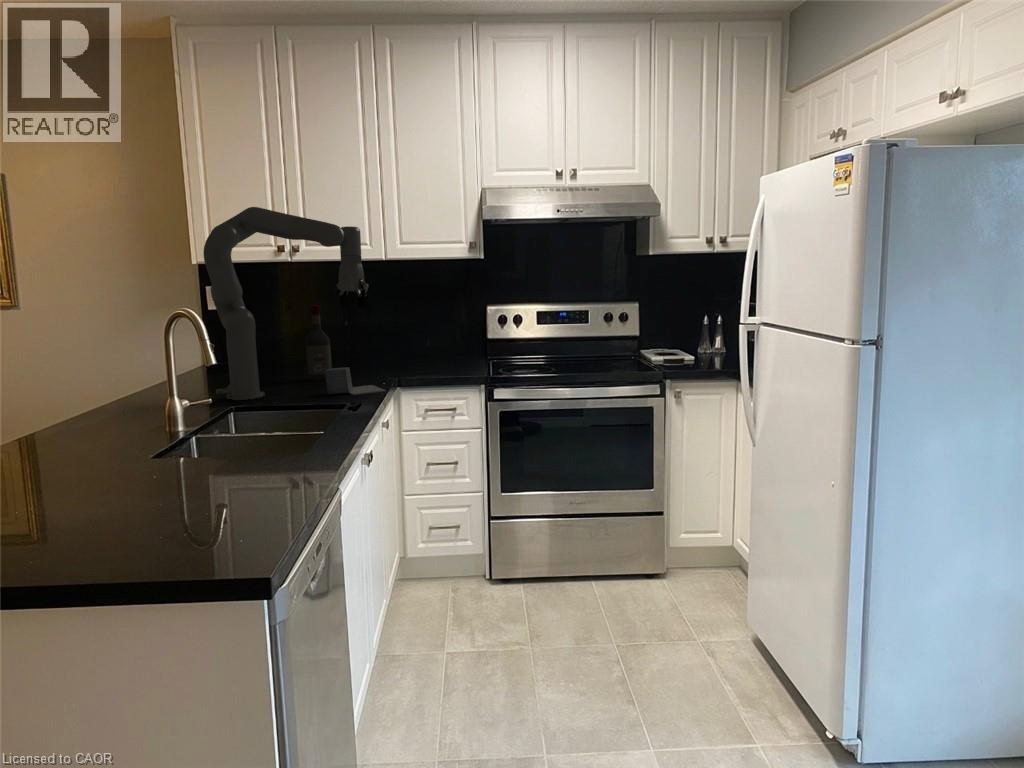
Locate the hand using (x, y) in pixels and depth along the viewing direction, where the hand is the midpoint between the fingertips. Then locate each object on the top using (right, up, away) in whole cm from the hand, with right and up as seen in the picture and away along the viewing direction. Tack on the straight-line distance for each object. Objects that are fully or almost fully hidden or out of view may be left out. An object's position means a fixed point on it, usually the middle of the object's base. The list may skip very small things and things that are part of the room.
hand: (353, 307), depth 260 cm
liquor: (-18, -27, +22) cm, 39 cm away
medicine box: (-2, -32, -10) cm, 34 cm away
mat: (+5, -31, -6) cm, 32 cm away
